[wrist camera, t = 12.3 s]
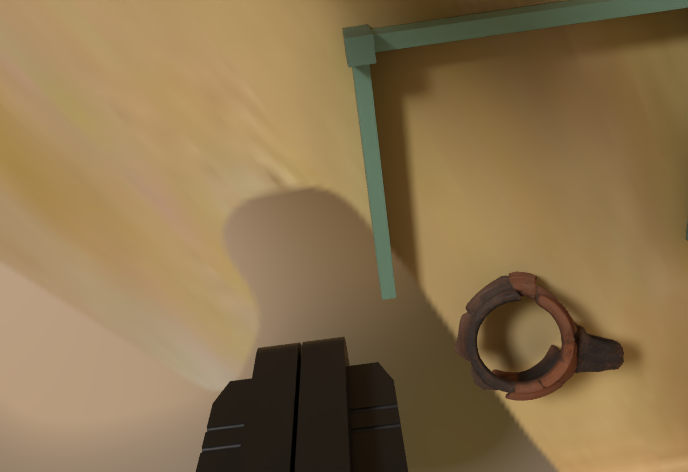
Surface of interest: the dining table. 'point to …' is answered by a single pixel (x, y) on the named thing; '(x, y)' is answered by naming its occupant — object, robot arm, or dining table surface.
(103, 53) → the dining table surface
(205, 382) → the dining table surface
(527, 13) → the teal bars
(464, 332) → the pottery mug
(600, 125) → the dining table surface
